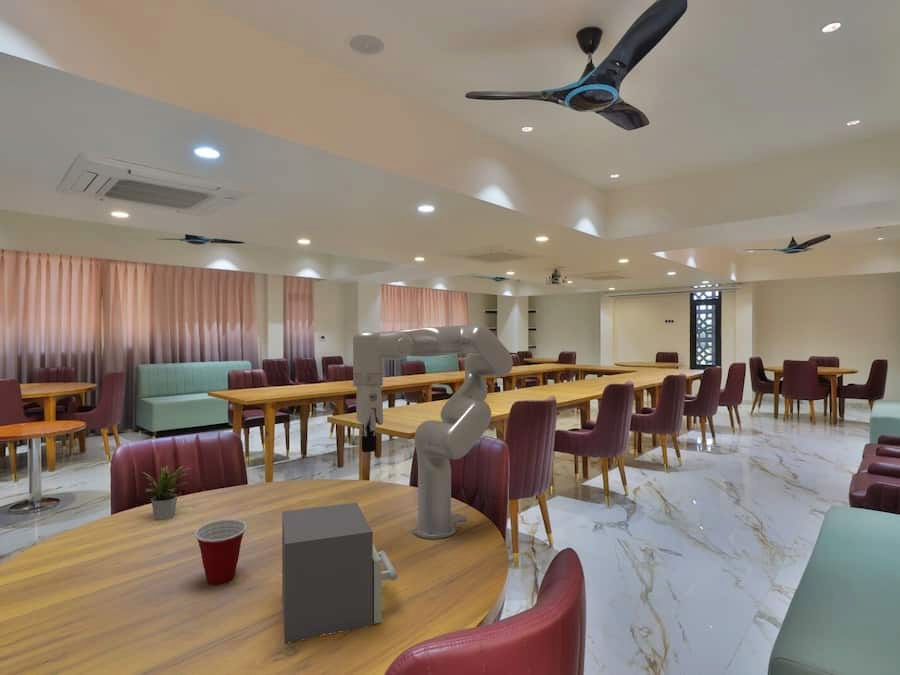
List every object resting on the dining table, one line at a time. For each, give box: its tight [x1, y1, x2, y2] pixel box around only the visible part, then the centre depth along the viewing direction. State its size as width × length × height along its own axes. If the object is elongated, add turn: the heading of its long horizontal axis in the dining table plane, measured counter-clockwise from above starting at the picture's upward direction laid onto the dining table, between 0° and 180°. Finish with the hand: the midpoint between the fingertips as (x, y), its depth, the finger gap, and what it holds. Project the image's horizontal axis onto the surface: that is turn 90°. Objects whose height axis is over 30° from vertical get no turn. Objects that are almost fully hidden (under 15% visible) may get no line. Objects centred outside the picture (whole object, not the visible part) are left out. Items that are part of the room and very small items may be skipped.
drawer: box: [373, 544, 398, 624], centre depth 100 cm, size 20×18×12 cm
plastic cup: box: [194, 518, 247, 586], centre depth 111 cm, size 11×11×12 cm
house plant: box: [141, 464, 191, 521], centre depth 150 cm, size 14×14×16 cm
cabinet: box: [281, 502, 374, 644], centre depth 99 cm, size 16×18×18 cm
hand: (368, 451), depth 125 cm, fingers closed
